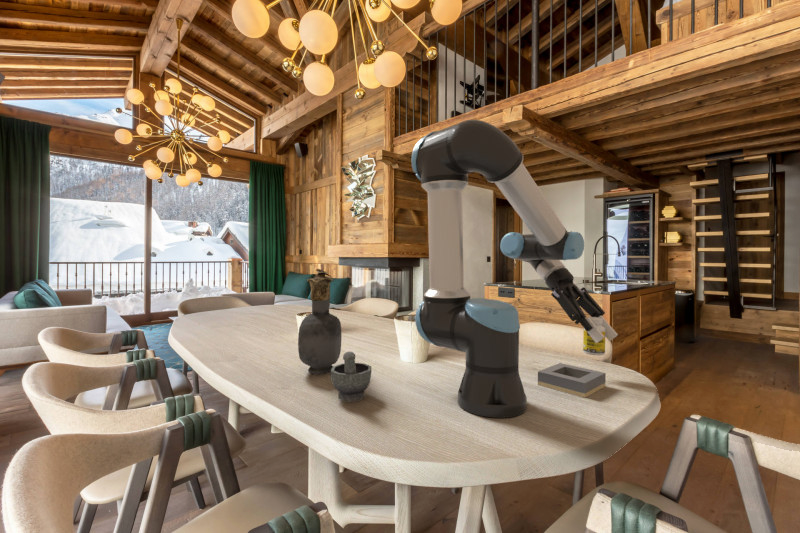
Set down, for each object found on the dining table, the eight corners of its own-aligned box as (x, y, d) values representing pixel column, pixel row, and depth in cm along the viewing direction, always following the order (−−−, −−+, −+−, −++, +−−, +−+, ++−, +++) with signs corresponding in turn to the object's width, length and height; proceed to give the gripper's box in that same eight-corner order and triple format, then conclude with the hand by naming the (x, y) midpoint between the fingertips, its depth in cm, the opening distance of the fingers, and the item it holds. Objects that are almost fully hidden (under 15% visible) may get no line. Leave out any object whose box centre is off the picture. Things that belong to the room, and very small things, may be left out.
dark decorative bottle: (294, 379, 103) (294, 269, 102) (311, 360, 122) (311, 267, 121) (334, 379, 102) (334, 269, 102) (345, 360, 122) (344, 267, 121)
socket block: (584, 397, 89) (584, 383, 89) (537, 384, 98) (537, 371, 98) (605, 386, 97) (605, 372, 97) (560, 375, 106) (560, 362, 106)
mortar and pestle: (334, 389, 95) (334, 342, 94) (372, 389, 95) (371, 342, 95) (327, 407, 83) (327, 354, 83) (369, 407, 84) (369, 353, 83)
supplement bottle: (584, 355, 102) (584, 319, 102) (582, 350, 107) (582, 316, 107) (606, 356, 100) (607, 320, 100) (603, 351, 105) (603, 316, 105)
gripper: (566, 282, 121) (616, 343, 107) (527, 283, 112) (576, 350, 98) (582, 266, 117) (636, 327, 103) (542, 266, 107) (596, 333, 93)
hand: (606, 338), depth 100 cm, fingers closed on supplement bottle, 5 cm apart
